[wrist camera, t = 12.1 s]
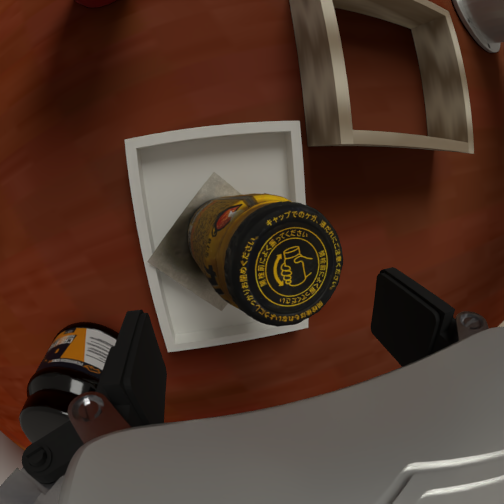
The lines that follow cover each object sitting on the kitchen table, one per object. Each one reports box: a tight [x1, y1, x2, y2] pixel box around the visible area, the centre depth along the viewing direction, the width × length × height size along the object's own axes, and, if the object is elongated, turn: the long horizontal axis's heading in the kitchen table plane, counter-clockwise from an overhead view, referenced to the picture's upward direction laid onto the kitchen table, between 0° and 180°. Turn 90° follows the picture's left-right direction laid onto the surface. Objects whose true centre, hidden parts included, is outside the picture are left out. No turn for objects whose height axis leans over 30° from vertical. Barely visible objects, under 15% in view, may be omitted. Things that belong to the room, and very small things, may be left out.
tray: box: [125, 121, 308, 352], centre depth 23 cm, size 18×13×2 cm
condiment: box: [147, 172, 343, 327], centre depth 17 cm, size 7×8×12 cm
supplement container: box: [19, 322, 119, 443], centre depth 20 cm, size 10×10×12 cm
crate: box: [289, 0, 474, 154], centre depth 19 cm, size 16×16×6 cm
